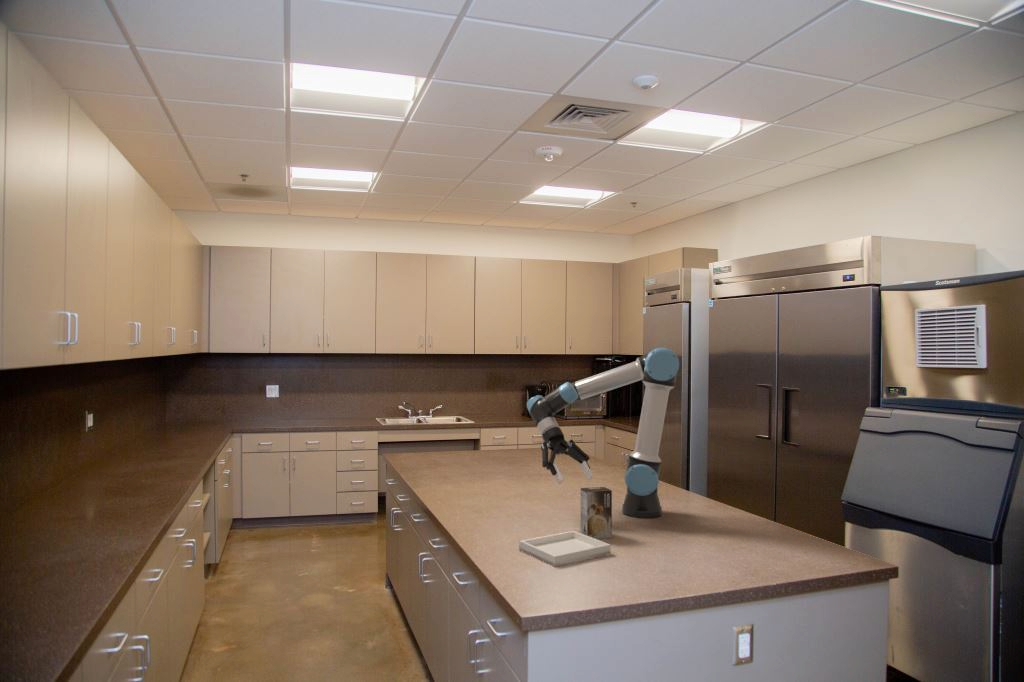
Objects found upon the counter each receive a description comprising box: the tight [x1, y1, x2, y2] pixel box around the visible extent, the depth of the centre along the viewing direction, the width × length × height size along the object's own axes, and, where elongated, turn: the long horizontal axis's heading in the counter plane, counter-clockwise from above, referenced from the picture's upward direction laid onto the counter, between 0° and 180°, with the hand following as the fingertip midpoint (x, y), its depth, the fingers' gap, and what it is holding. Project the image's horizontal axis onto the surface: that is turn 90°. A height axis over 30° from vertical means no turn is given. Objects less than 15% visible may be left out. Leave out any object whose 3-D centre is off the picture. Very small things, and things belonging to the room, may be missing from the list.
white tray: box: [518, 530, 612, 568], centre depth 205 cm, size 18×22×3 cm
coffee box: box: [580, 486, 613, 539], centre depth 222 cm, size 9×6×16 cm
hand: (576, 480), depth 231 cm, fingers open, 13 cm apart
